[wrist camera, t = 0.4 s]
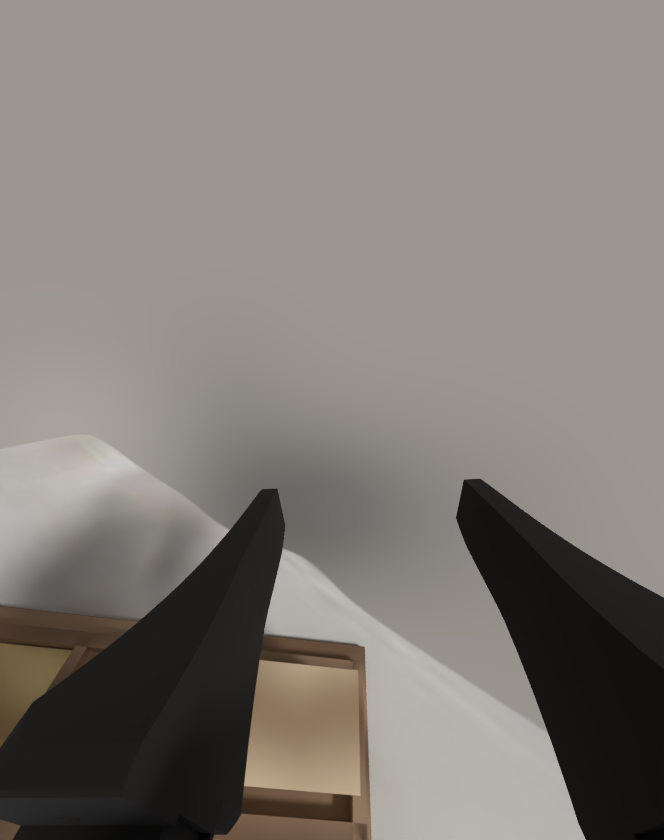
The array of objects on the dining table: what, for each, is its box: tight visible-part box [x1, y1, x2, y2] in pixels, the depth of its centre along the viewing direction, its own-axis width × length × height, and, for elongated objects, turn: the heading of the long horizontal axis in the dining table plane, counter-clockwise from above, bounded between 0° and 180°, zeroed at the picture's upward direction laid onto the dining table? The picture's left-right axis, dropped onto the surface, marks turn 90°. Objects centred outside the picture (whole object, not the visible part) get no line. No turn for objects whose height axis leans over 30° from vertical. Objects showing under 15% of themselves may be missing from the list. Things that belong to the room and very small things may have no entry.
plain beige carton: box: [244, 660, 361, 796], centre depth 15 cm, size 4×7×8 cm, turn 87°
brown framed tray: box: [0, 606, 371, 840], centre depth 17 cm, size 10×31×2 cm, turn 87°
